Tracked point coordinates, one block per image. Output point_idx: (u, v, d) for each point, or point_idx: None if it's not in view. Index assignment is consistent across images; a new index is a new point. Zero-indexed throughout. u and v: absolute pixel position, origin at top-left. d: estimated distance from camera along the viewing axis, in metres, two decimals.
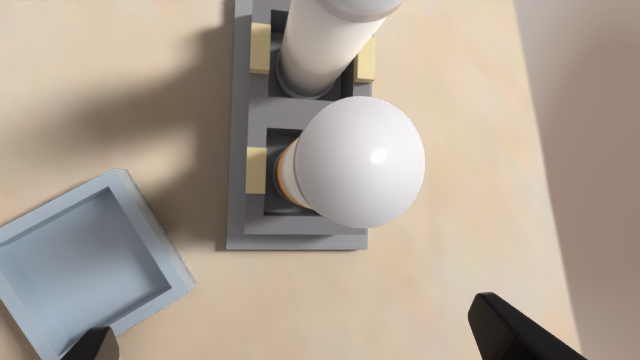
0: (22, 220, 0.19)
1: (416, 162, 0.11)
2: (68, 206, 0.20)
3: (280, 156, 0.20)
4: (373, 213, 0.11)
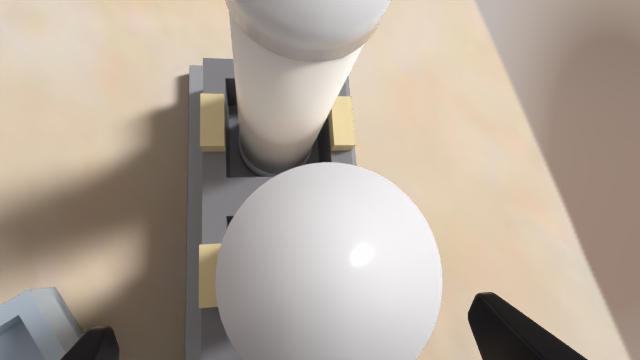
0: None
1: (425, 263, 0.06)
2: None
3: None
4: None
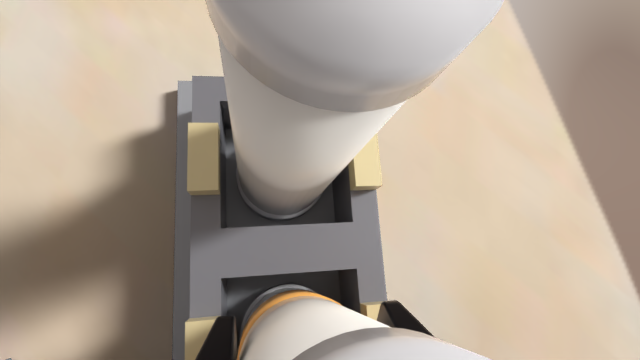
0: None
1: None
2: None
3: (244, 327, 0.12)
4: None
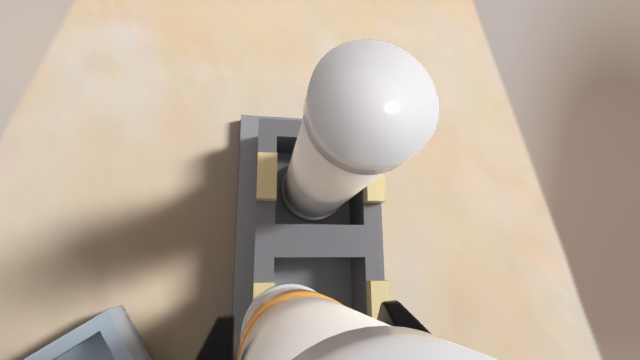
0: None
1: None
2: (52, 358, 0.17)
3: (244, 327, 0.12)
4: None
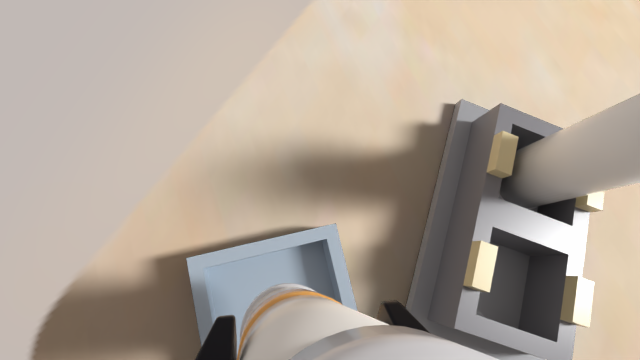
0: (243, 248, 0.19)
1: None
2: (286, 247, 0.20)
3: (244, 327, 0.12)
4: None
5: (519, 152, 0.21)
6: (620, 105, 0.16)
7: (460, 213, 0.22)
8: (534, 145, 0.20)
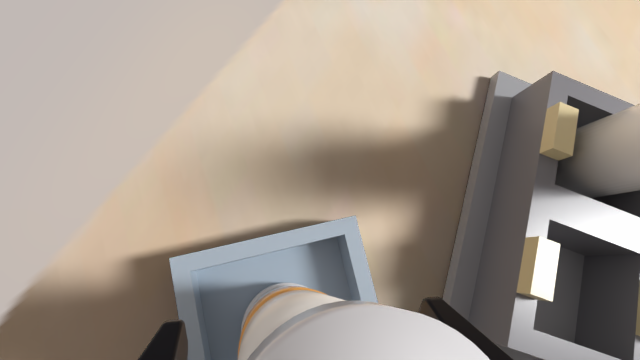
0: (241, 246, 0.15)
1: None
2: (295, 245, 0.16)
3: (245, 320, 0.13)
4: None
5: (581, 131, 0.17)
6: None
7: (504, 204, 0.18)
8: (605, 121, 0.16)
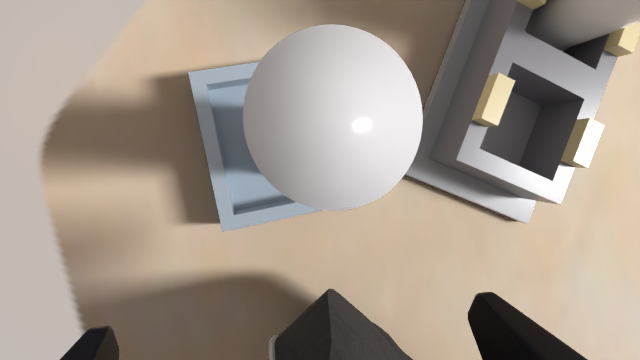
0: (247, 67, 0.18)
1: (410, 117, 0.08)
2: None
3: None
4: (352, 189, 0.08)
5: None
6: None
7: (479, 51, 0.21)
8: None
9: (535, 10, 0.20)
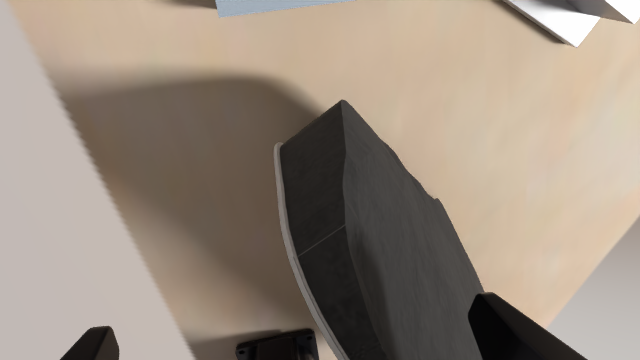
0: None
1: None
2: None
3: None
4: None
5: None
6: None
7: None
8: None
9: None
